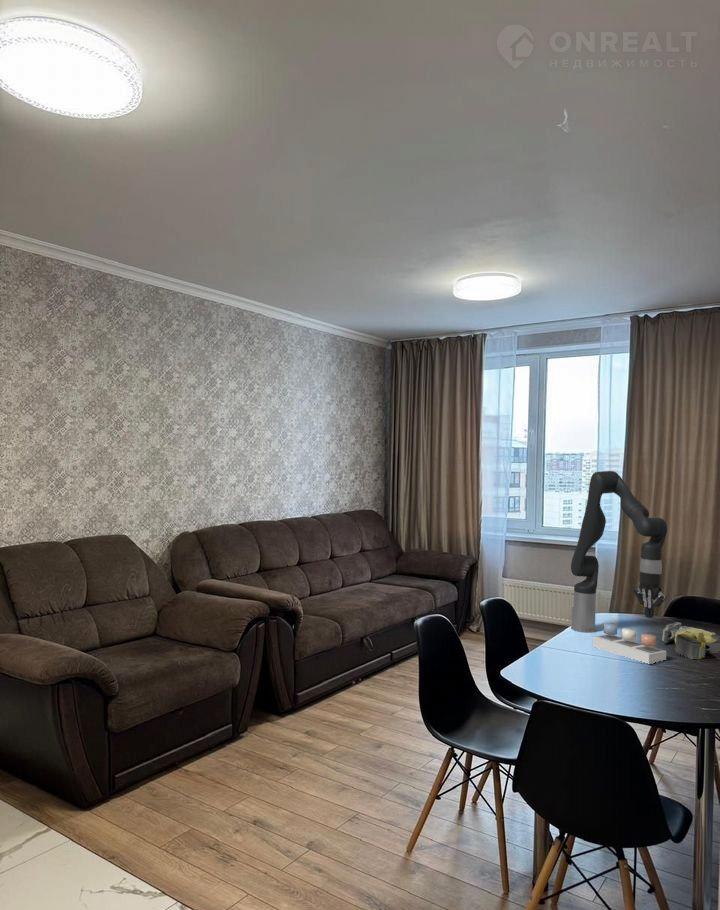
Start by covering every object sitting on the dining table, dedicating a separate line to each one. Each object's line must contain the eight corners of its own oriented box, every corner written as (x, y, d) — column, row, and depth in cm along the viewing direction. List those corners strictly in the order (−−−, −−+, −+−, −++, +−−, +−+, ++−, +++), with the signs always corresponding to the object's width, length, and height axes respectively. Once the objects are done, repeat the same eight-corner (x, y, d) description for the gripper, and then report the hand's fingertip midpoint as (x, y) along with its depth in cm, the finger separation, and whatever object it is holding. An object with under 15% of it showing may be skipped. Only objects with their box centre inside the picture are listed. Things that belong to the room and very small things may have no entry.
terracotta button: (638, 643, 242) (638, 634, 242) (646, 642, 244) (647, 633, 244) (650, 647, 237) (650, 637, 237) (658, 645, 240) (658, 636, 240)
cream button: (619, 637, 249) (619, 628, 249) (627, 636, 252) (627, 627, 252) (630, 641, 245) (630, 632, 245) (638, 639, 247) (639, 630, 247)
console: (593, 646, 256) (593, 636, 257) (609, 643, 261) (610, 633, 261) (648, 665, 235) (649, 653, 235) (666, 661, 240) (666, 650, 240)
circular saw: (665, 636, 276) (730, 652, 258) (639, 648, 254) (707, 666, 237) (667, 612, 276) (732, 626, 258) (641, 622, 254) (710, 638, 237)
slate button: (600, 632, 256) (601, 623, 256) (609, 631, 259) (609, 622, 259) (611, 635, 252) (611, 626, 252) (619, 634, 255) (620, 625, 255)
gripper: (628, 568, 245) (627, 614, 245) (660, 574, 233) (658, 622, 233) (641, 567, 249) (640, 612, 248) (673, 573, 237) (671, 620, 237)
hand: (649, 617), depth 241 cm, fingers closed
